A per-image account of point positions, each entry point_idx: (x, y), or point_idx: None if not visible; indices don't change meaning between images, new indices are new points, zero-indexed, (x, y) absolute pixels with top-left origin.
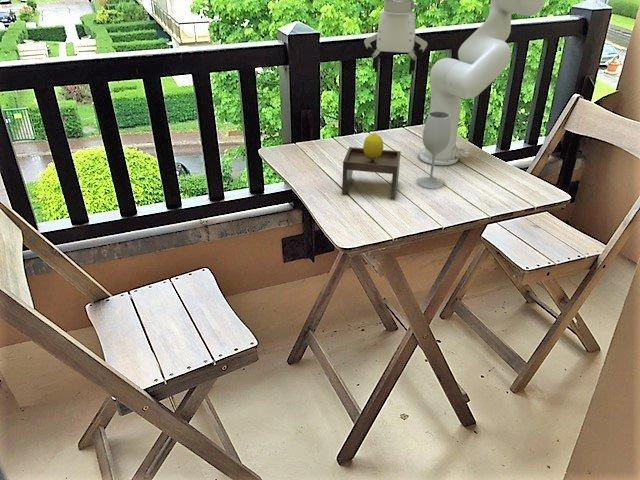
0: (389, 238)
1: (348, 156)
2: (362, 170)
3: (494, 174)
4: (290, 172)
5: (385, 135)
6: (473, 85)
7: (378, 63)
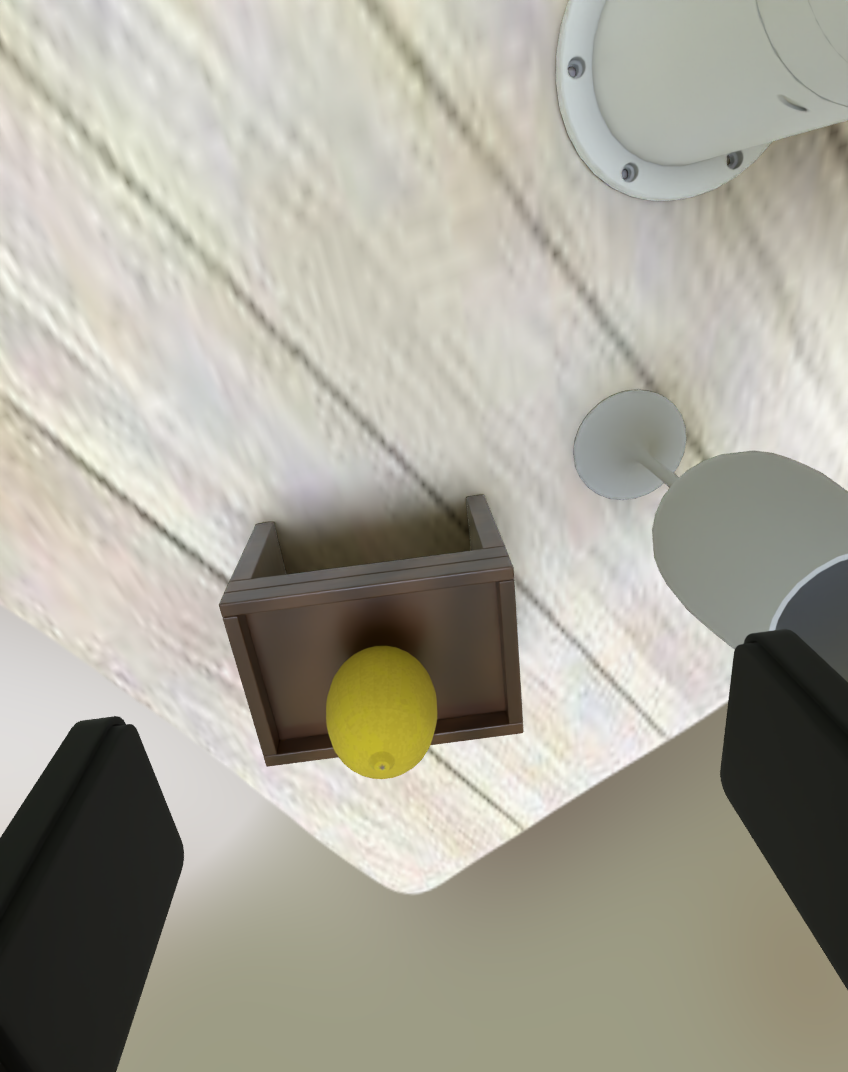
0: (517, 834)
1: (263, 702)
2: None
3: None
4: None
5: None
6: None
7: (76, 815)
